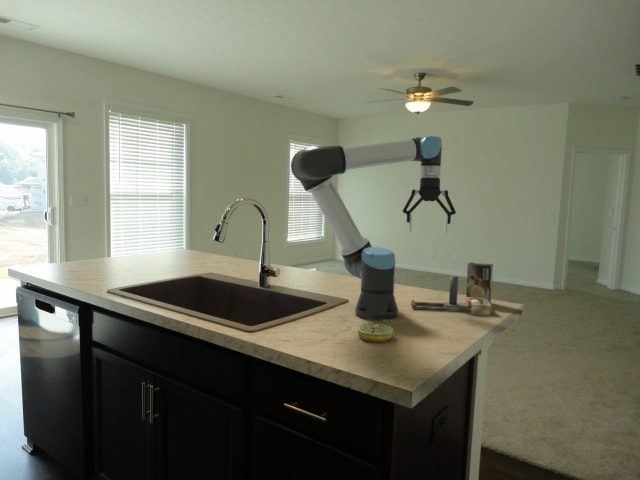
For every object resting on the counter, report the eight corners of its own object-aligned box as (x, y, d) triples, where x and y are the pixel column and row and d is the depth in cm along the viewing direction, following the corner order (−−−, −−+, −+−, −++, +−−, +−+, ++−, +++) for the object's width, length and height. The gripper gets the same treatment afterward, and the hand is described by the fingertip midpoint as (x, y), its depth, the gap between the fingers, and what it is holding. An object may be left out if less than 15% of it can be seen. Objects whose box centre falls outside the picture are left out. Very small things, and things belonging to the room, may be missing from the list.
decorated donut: (379, 331, 143) (379, 319, 142) (400, 341, 133) (400, 328, 133) (351, 335, 138) (351, 323, 138) (370, 346, 129) (371, 333, 128)
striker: (445, 309, 168) (446, 277, 167) (443, 306, 173) (445, 275, 172) (470, 310, 167) (472, 278, 166) (468, 307, 172) (469, 276, 171)
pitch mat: (412, 311, 167) (412, 310, 167) (410, 304, 178) (410, 303, 178) (491, 315, 163) (491, 314, 163) (484, 307, 174) (484, 307, 174)
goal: (471, 314, 164) (472, 304, 163) (465, 305, 175) (466, 297, 175) (491, 315, 163) (492, 305, 162) (484, 306, 174) (485, 298, 174)
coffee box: (491, 303, 181) (494, 264, 180) (489, 307, 176) (491, 266, 174) (467, 300, 185) (470, 262, 184) (465, 304, 180) (467, 264, 178)
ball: (474, 298, 167) (483, 304, 167) (472, 296, 171) (481, 302, 170) (468, 307, 167) (477, 313, 167) (466, 305, 171) (475, 310, 171)
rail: (412, 309, 168) (412, 304, 168) (411, 304, 176) (411, 299, 176) (470, 312, 166) (470, 307, 165) (466, 307, 173) (466, 302, 173)
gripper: (397, 176, 175) (395, 231, 177) (465, 177, 170) (462, 233, 173) (397, 177, 182) (395, 229, 184) (462, 178, 178) (459, 232, 180)
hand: (427, 231), depth 178 cm, fingers open, 13 cm apart
